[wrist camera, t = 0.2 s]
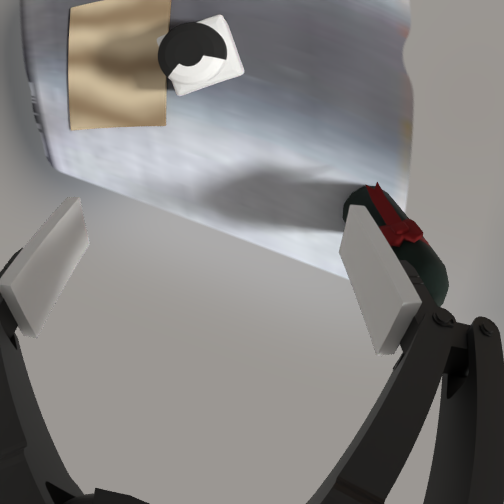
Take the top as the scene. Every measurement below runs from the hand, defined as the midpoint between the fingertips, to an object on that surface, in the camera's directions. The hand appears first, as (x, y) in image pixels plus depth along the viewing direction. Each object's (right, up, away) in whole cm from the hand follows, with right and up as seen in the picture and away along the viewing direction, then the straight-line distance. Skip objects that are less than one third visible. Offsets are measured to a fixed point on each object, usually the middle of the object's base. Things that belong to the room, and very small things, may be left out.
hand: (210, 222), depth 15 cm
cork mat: (-15, +23, +18) cm, 33 cm away
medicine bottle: (-3, +22, +19) cm, 29 cm away
